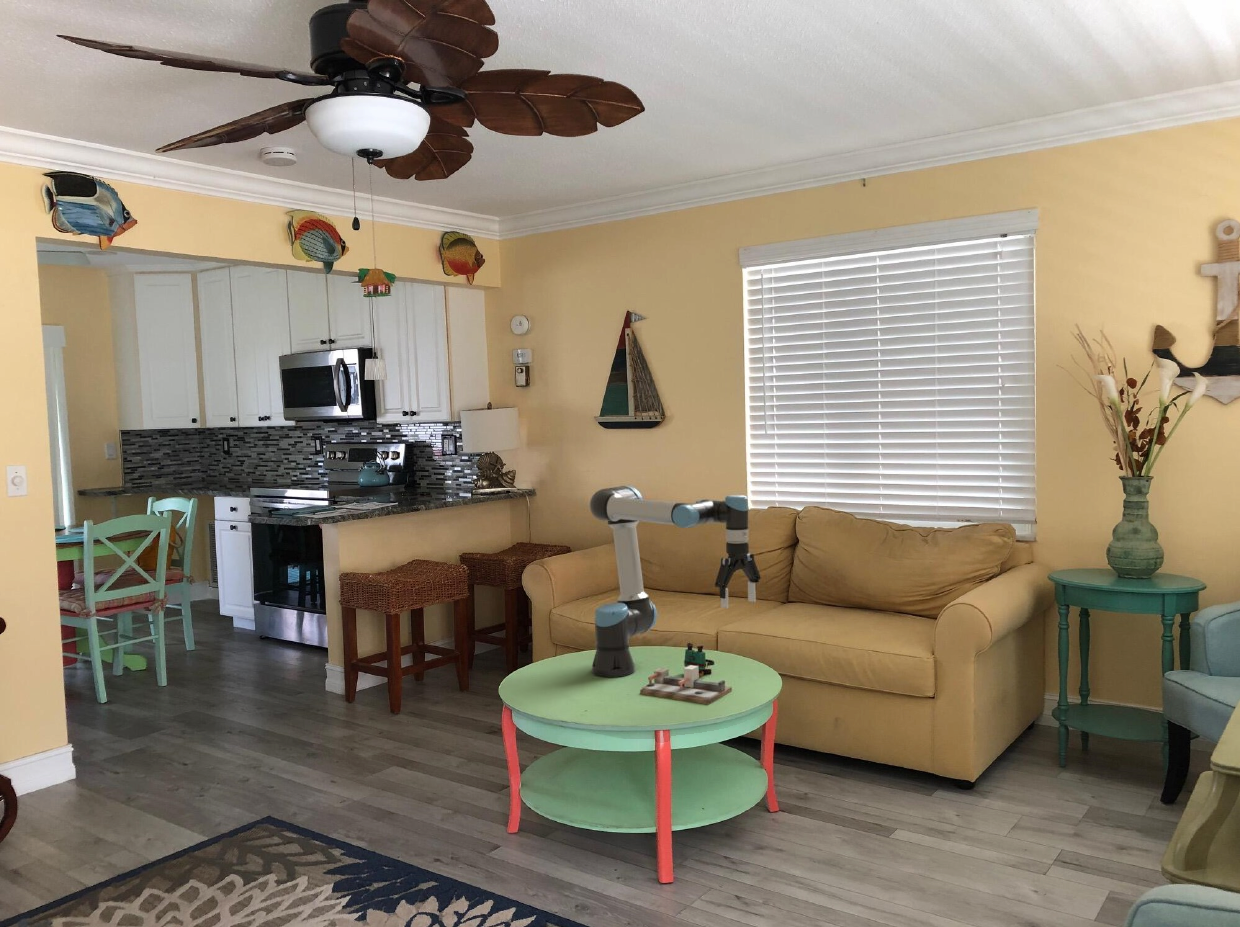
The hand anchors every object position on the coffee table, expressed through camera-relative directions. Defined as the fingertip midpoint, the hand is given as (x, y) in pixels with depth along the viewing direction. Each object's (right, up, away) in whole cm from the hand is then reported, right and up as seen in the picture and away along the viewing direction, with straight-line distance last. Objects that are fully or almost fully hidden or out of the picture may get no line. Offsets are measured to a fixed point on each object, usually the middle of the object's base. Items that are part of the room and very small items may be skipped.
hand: (738, 604), depth 315 cm
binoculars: (-12, -26, +13) cm, 31 cm away
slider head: (-18, -26, -10) cm, 33 cm away
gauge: (-18, -27, -10) cm, 34 cm away
